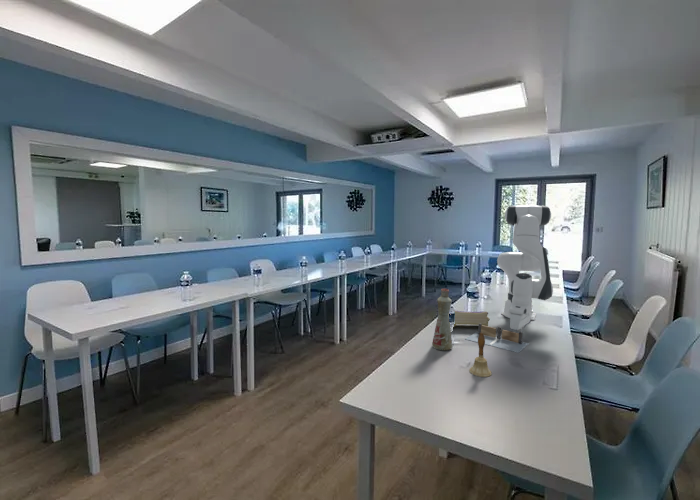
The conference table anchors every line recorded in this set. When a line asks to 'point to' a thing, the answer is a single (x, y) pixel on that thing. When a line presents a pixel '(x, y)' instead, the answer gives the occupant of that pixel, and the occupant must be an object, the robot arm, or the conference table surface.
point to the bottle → (443, 323)
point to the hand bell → (480, 360)
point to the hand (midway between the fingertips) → (519, 334)
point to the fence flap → (512, 336)
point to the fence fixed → (489, 331)
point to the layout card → (499, 343)
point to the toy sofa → (471, 318)
